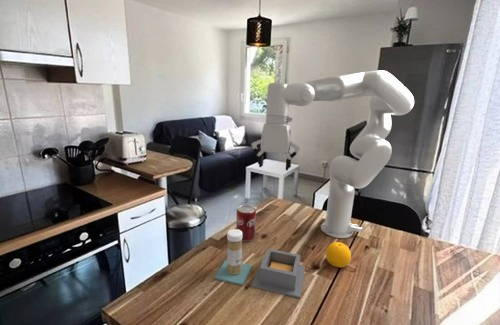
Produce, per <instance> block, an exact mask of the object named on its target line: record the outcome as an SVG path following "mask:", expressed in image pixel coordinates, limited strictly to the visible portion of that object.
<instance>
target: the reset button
mask: <svg viewBox="0 0 500 325" xmlns="http://www.w3.org/2000/svg"><path fill="white" fill-rule="evenodd" d="M270 268H275V269H279V270H284V271H288V272H292V271H293V266H291V265H286V264H282V263H277V262H271V265H270Z"/></svg>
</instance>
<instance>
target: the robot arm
mask: <svg viewBox="0 0 500 325" xmlns="http://www.w3.org/2000/svg"><path fill="white" fill-rule="evenodd" d="M266 94H267V95H266V111H265V112H266V113H265V114H266V115H265V122H264V123H263V126H262V132H261V137H260V138H261V139H259V140H256V141H253V142H252V143H251V147H252V149H253V152H254V153H255V154H256V156H257V165H258V167H259V168H262V167H263V166H264V153H272V154H281V155H283V154H284V156H285V157H286V162H285V171H288V170H289V169H291V167H292V159H293V158H294V157H296V156H297V154H298V153H299V151H300V149H301V147H300V145H299V146H298V144H296V143H294V142H292V141H291V139H292V138H291V137H292V136H291V132H292V131H291V125H290V124H289V123H292V122H293V117H290V116H289V112H290V110H289V109H290V105H291V106H296V107H297V106H298V107H305V106H309V105H310V104H311V103H313V102H319V101H320V102H323V101H324V102H339V101H344V100H350V99H355V98H361V97H363V98H364V97H370V100H369V110H370V118H369V121H368V122H367V124H366V125H365V126H364V127H363V129H362V130H361V131H360V132H359V133H358V135H357V136H356V137H355V138H354V139H353V141H352V143H350V146H349V151H350V154H351V155H352V156H354V157H355V158H357V159H359V160H357V159H355V158H352V157H350V156H347V155H338V156H336V157H334V158H333V159H332V161H331V162H330V164H329V192H328V199H327V207H326V215H325V221H324V222H322V224H320V229H321V231H322V232H323V233H324V234H325V235H328V236H330V237H332V238H336V239H348V238H351V237H352V236H353V233H354V232H357V233H358V232H359V233H362V232H363V227H362V226H359V224H356V223H352V221H351V218H352V214H353V212H352V211H353V206H354V199H355V192H356V191H355V189H363V188H365V187H367V186H368V185H370V183H371V182H372V181H373V180H374V179H376V176H378V174H379V173H380V172H381V171H382V170H383V168H384V167H385V166H386V164H388V162H389V161H390V159H391V156H392V153H393V150H392V146H391V145H392V144H390V142H389V141H387V140H386V138H387V136H388V135H389V134H390V132H391V130H392V116H404V115H406V114H407V115H408V113H410V112H411V110H412V109H413V107H414V105H415V99H414V96H413V94H412V93H411V91H410V90H409V89H408V88H407V87H406V86H404V84H403V83H402V82H401V81H399V80H398V79H397V78H396V77H395V76H394V75H393V74H391V73H390V72H388V71H387V70H380V69H379V70H371V71H362V72H355V73H354V72H353V73H348V74H347V73H346V74H341V75H335V76H330V77H329V76H328V77H325V78H320V79H314V80H307V81H301V82H293V83H286V82H270V83H269V84H268V85H267V93H266ZM391 115H392V116H391ZM257 145H260V149H259V148H258V147H257ZM291 148H292V149H294V150H293V152H292V153H291V152H290V151H291Z"/></svg>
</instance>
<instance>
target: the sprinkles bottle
mask: <svg viewBox="0 0 500 325" xmlns="http://www.w3.org/2000/svg"><path fill="white" fill-rule="evenodd" d="M226 238H227V247H226V248H227V252H226V254H227V257H226V258H227V259H226V260H227V262H228V265H227V272H228V273H229V274H231V275H237V274H239V273H240V272H241V263H242V259H243V258H242V257H243V256H242V254H243V245H242V243H243V241H242V231H241V230H238V229H236V228H231V229H229V230H228V231H227V236H226Z"/></svg>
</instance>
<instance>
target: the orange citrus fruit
mask: <svg viewBox="0 0 500 325" xmlns="http://www.w3.org/2000/svg"><path fill="white" fill-rule="evenodd" d="M325 256H326V257H325V258H326V260H327V262H328V263H329V264H330V265H331V266H333V267H335V268H345V267H347V266H348V265H349V264H350V262H351V260H352V253H351V250H350V248H349V247H348V246H347V245H346V244H345V243H343V242H339V241H335V242H332V243H331V244H329V245H328V246H327V247H326V250H325Z"/></svg>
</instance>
